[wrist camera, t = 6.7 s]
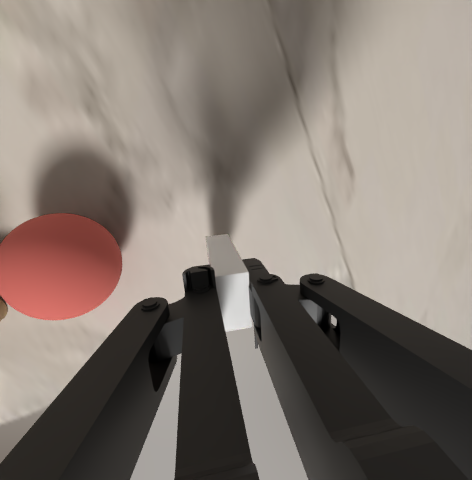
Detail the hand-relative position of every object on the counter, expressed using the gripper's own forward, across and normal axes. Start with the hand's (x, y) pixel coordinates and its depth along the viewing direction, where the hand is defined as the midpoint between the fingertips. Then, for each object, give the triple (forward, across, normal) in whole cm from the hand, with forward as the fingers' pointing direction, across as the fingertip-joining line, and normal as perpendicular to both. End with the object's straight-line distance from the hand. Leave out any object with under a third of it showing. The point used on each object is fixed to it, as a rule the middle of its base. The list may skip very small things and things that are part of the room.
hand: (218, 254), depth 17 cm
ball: (-1, +9, -1) cm, 9 cm away
